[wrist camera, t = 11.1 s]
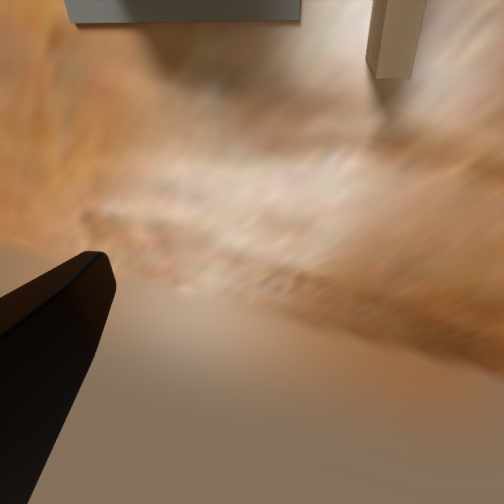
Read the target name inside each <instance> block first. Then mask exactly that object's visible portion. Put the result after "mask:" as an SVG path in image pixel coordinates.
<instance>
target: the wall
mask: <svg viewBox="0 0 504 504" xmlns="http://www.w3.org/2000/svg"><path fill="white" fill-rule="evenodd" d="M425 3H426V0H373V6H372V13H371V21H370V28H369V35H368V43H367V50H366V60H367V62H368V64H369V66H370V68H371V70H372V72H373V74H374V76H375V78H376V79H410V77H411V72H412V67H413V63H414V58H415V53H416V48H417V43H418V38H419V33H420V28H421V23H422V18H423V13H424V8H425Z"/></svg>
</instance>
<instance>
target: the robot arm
mask: <svg viewBox="0 0 504 504" xmlns="http://www.w3.org/2000/svg"><path fill="white" fill-rule="evenodd" d="M115 292H116V280H115V277H114V274H113V270H112V267H111V264H110V261H109V258H108V256H107V254H106V253H104V252H100V251H84V252H82V253H80V254H79V255H77V256H75V257H73V258H71V259H70V260H68V261H66V262H64V263H62V264H61V265H59V266H57V267H55V268H54V269H52V270H50V271H48V272H46V273H44V274H43V275H41V276H39V277H37V278H35V279H34V280H32V281H30V282H28V283H26V284H24V285H22V286H21V287H19V288H17V289H15V290H14V291H12V292H10V293H8V294H6V295H4V296H3V297H1V298H0V504H28V501H29V499H30V497H31V495H32V493H33V490H34V488H35V486H36V484H37V482H38V479H39V477H40V475H41V473H42V471H43V468H44V466H45V464H46V462H47V459H48V457H49V455H50V453H51V451H52V449H53V446H54V444H55V442H56V440H57V438H58V436H59V433H60V431H61V429H62V427H63V424H64V422H65V420H66V418H67V416H68V413H69V411H70V409H71V407H72V405H73V403H74V400H75V398H76V396H77V394H78V392H79V389H80V387H81V385H82V383H83V381H84V378H85V376H86V374H87V372H88V370H89V367H90V365H91V363H92V361H93V358H94V356H95V353H96V350H97V348H98V345H99V342H100V339H101V336H102V332H103V330H104V326H105V323H106V320H107V317H108V314H109V311H110V308H111V305H112V302H113V299H114V296H115Z"/></svg>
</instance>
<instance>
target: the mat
mask: <svg viewBox="0 0 504 504" xmlns="http://www.w3.org/2000/svg"><path fill="white" fill-rule="evenodd" d="M64 1H65V5H66V9H67V12H68V16H69V20H70V23H132V22H199V21H267V20H299V17H300V0H64Z"/></svg>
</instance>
